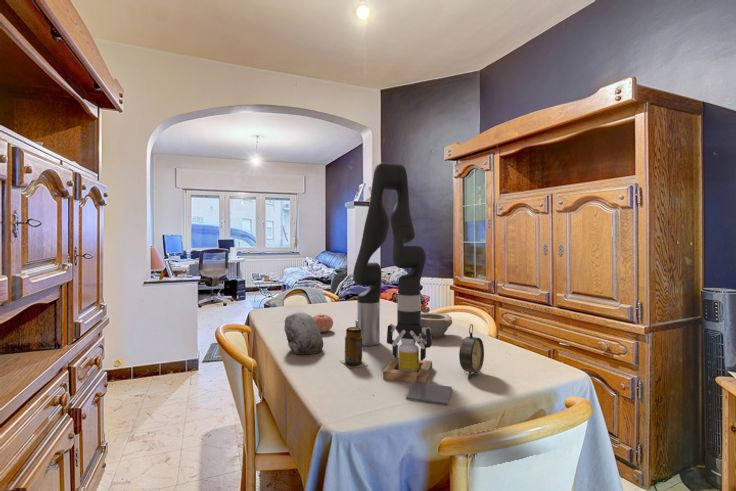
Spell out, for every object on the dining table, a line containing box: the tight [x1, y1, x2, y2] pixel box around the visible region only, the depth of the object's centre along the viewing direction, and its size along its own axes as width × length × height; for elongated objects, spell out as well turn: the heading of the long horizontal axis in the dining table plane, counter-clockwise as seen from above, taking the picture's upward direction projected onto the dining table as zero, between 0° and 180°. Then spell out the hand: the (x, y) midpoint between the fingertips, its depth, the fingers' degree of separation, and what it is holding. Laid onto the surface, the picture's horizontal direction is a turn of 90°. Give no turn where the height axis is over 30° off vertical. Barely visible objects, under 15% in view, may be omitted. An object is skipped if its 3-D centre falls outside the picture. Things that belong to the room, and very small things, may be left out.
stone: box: [283, 311, 324, 355], centre depth 140 cm, size 12×15×15 cm
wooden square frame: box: [382, 356, 433, 384], centre depth 118 cm, size 13×14×2 cm
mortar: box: [420, 312, 453, 339], centre depth 162 cm, size 17×17×9 cm
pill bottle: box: [398, 338, 420, 372], centre depth 118 cm, size 6×6×12 cm
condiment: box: [340, 326, 369, 369], centre depth 127 cm, size 7×8×12 cm
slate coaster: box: [405, 382, 453, 406], centre depth 103 cm, size 11×11×1 cm
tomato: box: [311, 313, 334, 334], centre depth 169 cm, size 11×11×8 cm
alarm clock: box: [458, 323, 485, 380], centre depth 117 cm, size 11×5×16 cm, turn 143°
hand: (409, 358), depth 118 cm, fingers open, 8 cm apart
